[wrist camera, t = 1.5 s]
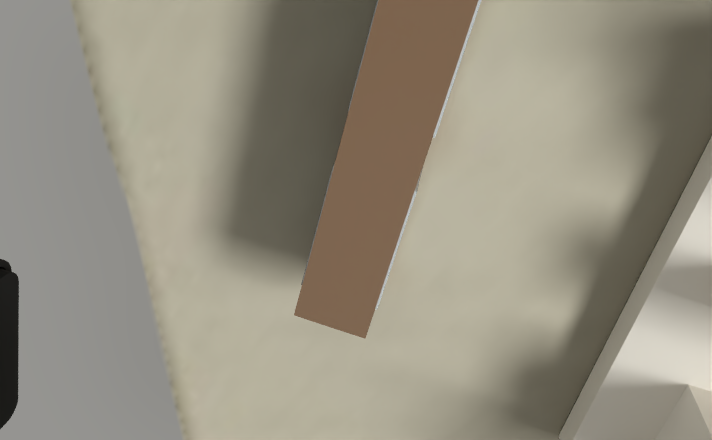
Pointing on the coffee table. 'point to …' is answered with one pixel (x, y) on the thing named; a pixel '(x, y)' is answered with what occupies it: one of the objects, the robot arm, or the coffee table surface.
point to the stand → (660, 338)
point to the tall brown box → (382, 156)
